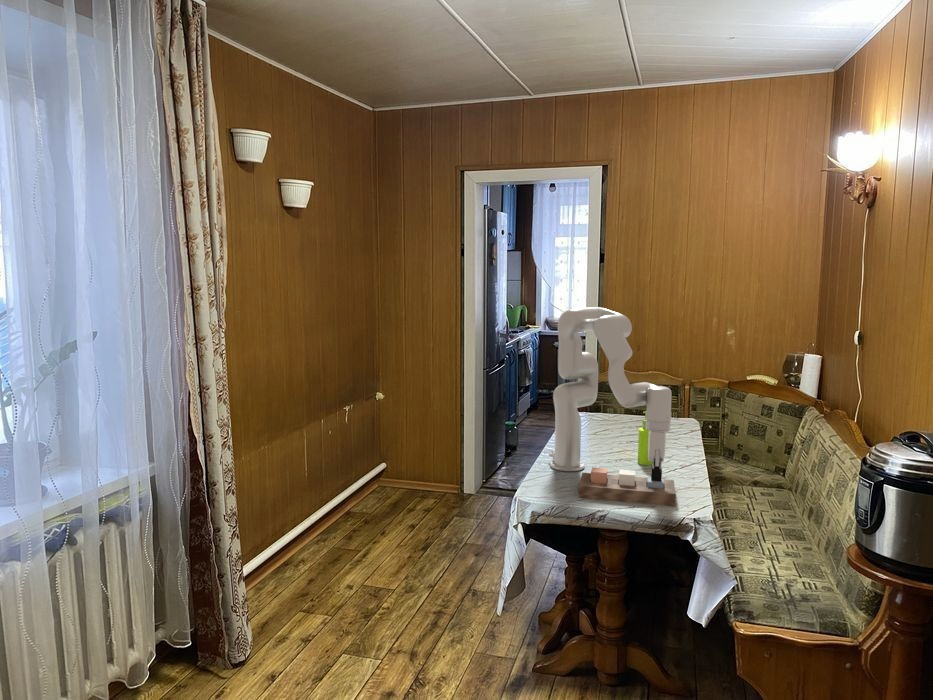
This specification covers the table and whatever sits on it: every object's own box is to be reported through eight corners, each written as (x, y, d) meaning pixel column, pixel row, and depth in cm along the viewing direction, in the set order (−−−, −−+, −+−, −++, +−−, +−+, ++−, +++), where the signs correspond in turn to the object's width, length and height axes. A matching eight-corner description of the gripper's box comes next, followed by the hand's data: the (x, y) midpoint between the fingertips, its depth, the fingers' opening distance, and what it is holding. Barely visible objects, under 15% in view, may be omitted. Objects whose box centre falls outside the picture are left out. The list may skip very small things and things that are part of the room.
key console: (578, 497, 216) (578, 485, 216) (582, 483, 230) (582, 472, 229) (675, 506, 209) (675, 494, 208) (673, 491, 222) (673, 480, 222)
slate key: (647, 493, 215) (647, 481, 214) (647, 488, 220) (647, 477, 219) (663, 495, 214) (663, 483, 213) (662, 490, 218) (663, 478, 218)
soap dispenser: (649, 466, 249) (651, 414, 246) (634, 462, 254) (636, 411, 252) (659, 464, 252) (661, 412, 250) (644, 459, 258) (646, 409, 255)
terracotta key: (590, 483, 219) (591, 471, 219) (591, 478, 224) (592, 467, 223) (606, 484, 218) (606, 473, 217) (606, 480, 223) (607, 468, 222)
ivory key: (618, 486, 217) (619, 474, 216) (619, 481, 222) (619, 469, 221) (634, 487, 216) (635, 475, 215) (634, 482, 220) (635, 470, 220)
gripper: (645, 419, 222) (644, 472, 224) (646, 429, 207) (644, 486, 210) (669, 420, 220) (667, 474, 222) (671, 431, 206) (669, 488, 208)
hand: (656, 480), depth 216 cm, fingers closed
